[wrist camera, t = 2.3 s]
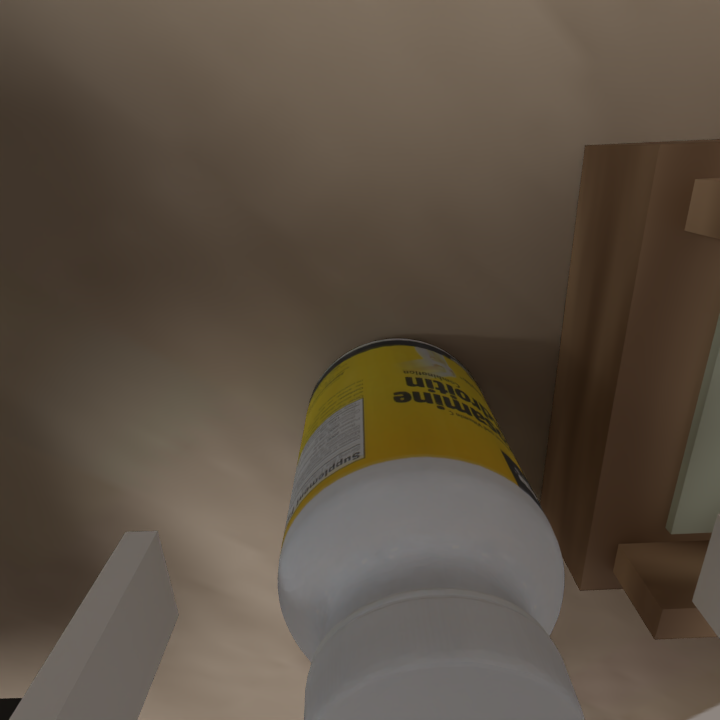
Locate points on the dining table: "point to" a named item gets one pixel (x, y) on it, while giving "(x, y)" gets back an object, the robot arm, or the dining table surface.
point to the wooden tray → (641, 380)
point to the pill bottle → (418, 551)
